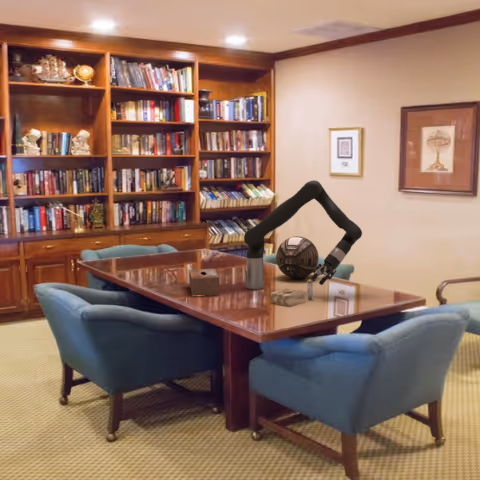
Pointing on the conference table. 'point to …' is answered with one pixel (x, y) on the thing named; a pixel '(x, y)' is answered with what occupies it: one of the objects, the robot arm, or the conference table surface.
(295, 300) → the maple hitch block
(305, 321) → the conference table surface
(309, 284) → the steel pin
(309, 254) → the sphere
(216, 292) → the tissue box cover
